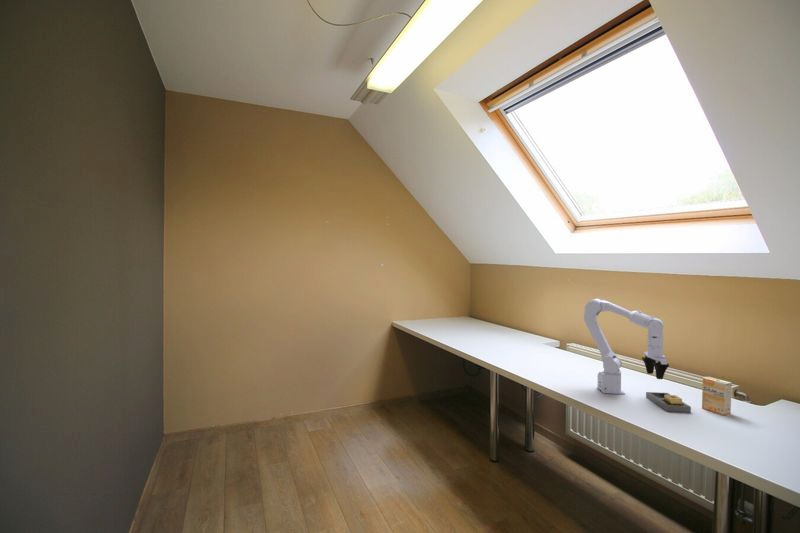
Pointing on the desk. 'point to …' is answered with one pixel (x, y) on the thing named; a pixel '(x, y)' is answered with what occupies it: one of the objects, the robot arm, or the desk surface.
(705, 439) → the desk surface
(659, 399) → the grey metal flat frame
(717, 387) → the supplement box
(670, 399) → the nut block
